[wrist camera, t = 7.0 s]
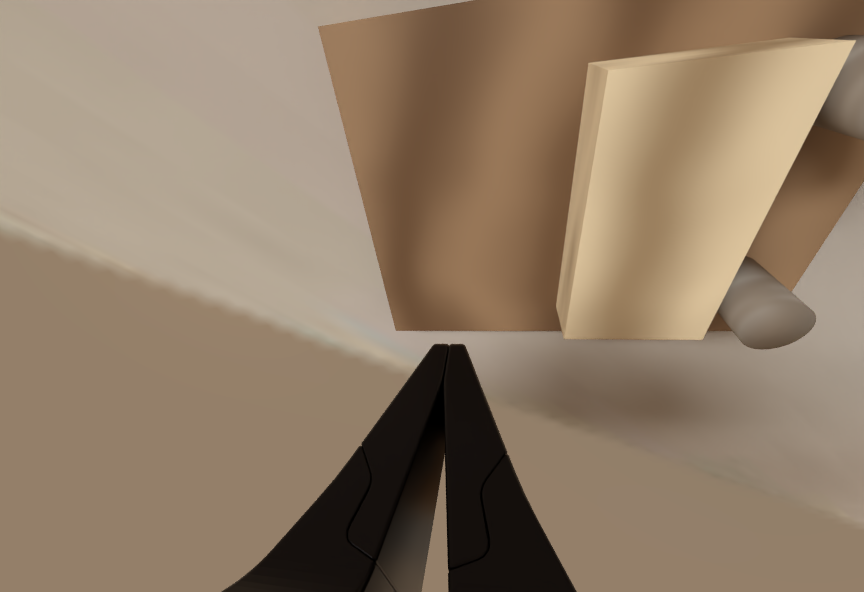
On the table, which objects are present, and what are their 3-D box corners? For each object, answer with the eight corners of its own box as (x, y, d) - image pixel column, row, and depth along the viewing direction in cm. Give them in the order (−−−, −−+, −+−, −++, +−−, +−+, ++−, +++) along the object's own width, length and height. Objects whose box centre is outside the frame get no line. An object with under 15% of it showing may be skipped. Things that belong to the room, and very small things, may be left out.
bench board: (978, -82, 10) (1298, -151, 6) (748, 311, 19) (816, 386, 15) (332, 26, 13) (268, 26, 9) (400, 314, 22) (382, 375, 19)
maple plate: (789, 37, 11) (855, 40, 9) (678, 304, 17) (702, 339, 16) (588, 63, 12) (608, 70, 10) (555, 306, 18) (564, 338, 17)
